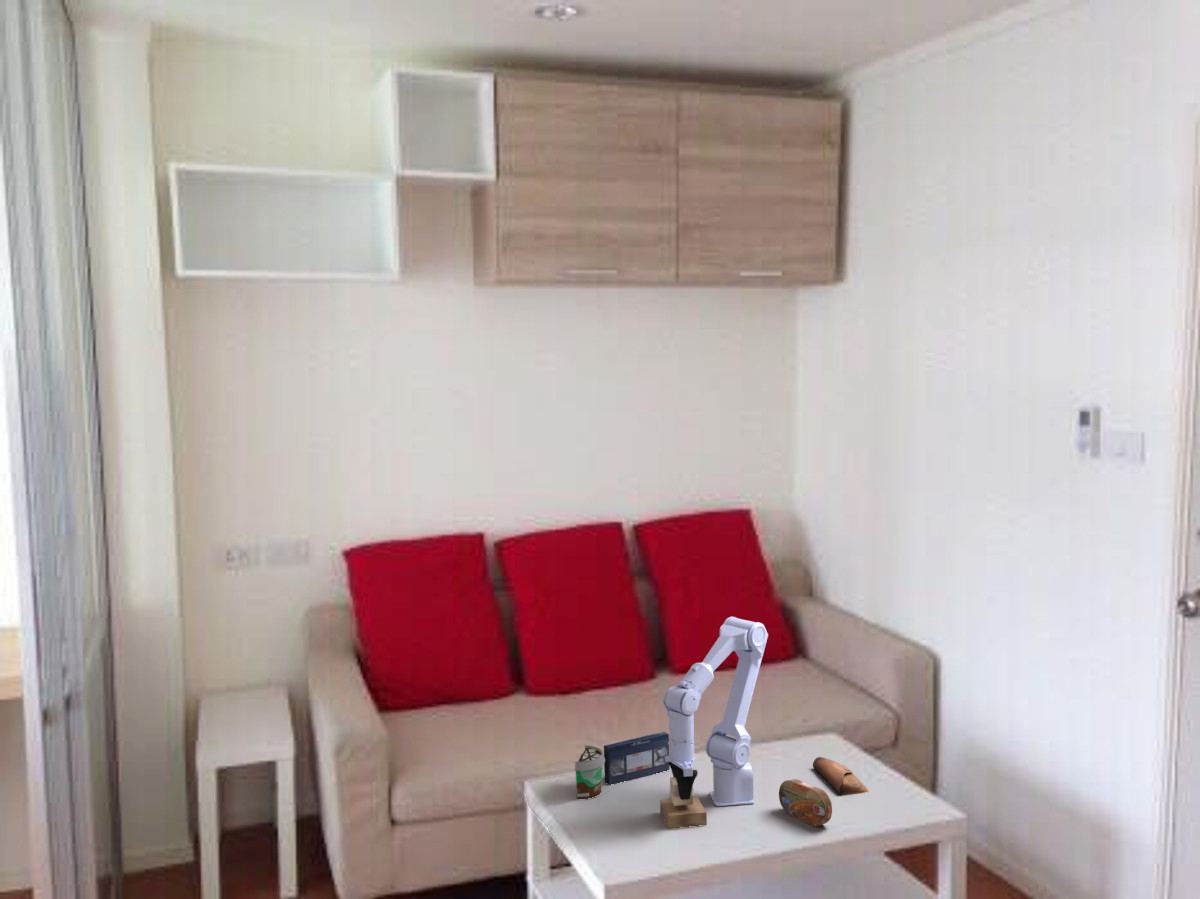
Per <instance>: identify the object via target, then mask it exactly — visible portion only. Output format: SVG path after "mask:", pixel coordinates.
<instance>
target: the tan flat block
mask: <svg viewBox="0 0 1200 899" xmlns="http://www.w3.org/2000/svg"><path fill="white" fill-rule="evenodd" d="M659 804H660V806H659V808H660V809H659V810H660V811H659V812H660V815H661V817H662V819H663V821H664V820H665V821H664V823H665V825H666V826H667V828H669V829H668V830H673V828H676V829H681V828H680V827H686V828H690V827H689V826H697V827H700V826H699V825H707V824H708V820H707V819H708V818H707V816H708V815H707V811H706V809H705V808H704V806H703V804H702V802H701V801H700V799H699V798H698V797H697V796H693V804H691V805H678V806H674V805H673V802H672V800H671V798H669V799H661V800H659Z"/></svg>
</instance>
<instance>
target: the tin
mask: <svg viewBox="0 0 1200 899" xmlns="http://www.w3.org/2000/svg"><path fill="white" fill-rule="evenodd" d="M825 791H826V790H823V789H821V788H820V787H817V786H815V785H812V784H809V783H807V782H804V781H802V780H799V779H797V778H796V779H795V778H794V779H793V778H792V779H787V780H785V781H783V782H782V783H781V784H780V786H779V790H778V798H779V803H780V805H781V808H782V809H783V811H784V813H786V814H787V816H790V817H793V818H794V819H797V820H798V821H801V822H803V823H806V824H808V825H810V826H813V827H820V826H822V825H825V824H827V823H829V821H830V820H831V818H832V815H833V806H832V801H831V798H830V796H829V795H828V794H827V792H825Z"/></svg>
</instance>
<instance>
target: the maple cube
mask: <svg viewBox="0 0 1200 899" xmlns="http://www.w3.org/2000/svg"><path fill="white" fill-rule="evenodd" d="M669 785H670V786H669V788H670V789H669V792H670V793H669V794H670V795H669V796H670V798H669V799H671V800H672V802H673V805H674V806H678V805H691V804H693V797H694V787H693V786H694V785H693V786H692V791H691V796H690V799H687V800H681V799H680V796H679V790H678V784H677V781H676V778H675V777H673V776H671V777H669Z"/></svg>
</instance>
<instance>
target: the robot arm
mask: <svg viewBox="0 0 1200 899" xmlns="http://www.w3.org/2000/svg"><path fill="white" fill-rule="evenodd" d="M768 638H769V633H768V632H767V629H766V627H765V624H763V623H761V622H758V621H757V622H755V621H751V620H746V619H741V618H738V617H736V616H730V617H727V618H726V619H725V620H724V622H723V623H722V625H721V626H720V628H719V637H718V638H717V640H716V641H715V642H714V644H713V645H712V647H711V648H710V649H709V651H708V653H707V654H706V655H705V657H704V658H703V661H702V662H695V663H694V664H692V665H691V667H690V669H689V670H688V671H687V672H686V674H685V675H684V676H683V677H682V678H681V679H680V681H679V682H678V683H677V684H676V685H673V686H671V687H669V688H668V689H667V690H666V692H665V694H664V699H662V703H663V706H664V708H665V709H666V715H667V718H668V726H669V729H668V730H669V731H668V734H669V756H665V761H666V762H668V764H669V767H670V768H669V769H670V770H671V774H672V777H675V778H676V781H677V784H678V790H679V796H680V799H681V800H687V799H690V796H691V791H692V786H694V783H695V780H696V778H697V777H698V773H699V772H698V770H697V769H693V768H694V765H695V762H696V755H695V725H694V724H695V722H694V720H695V719H694V717H695V716H694V715H695V714H694V713H695V712H697V710H698V708H699V706H700V705H699V704H700V701H701V699H702V694H703V693H704V692H705V691H706V690H707V689H708V687H709V686H710V685H711V684H712V682H713V681H714V679H715V676H714V671H716V669H718V667H719V666H720V665H721V664H722V663H723V662H725V660H726V659H727V658H728V657H729V656H730V654H731V653H732V652H735V654H736V655H737V657H738V661H737V665H736V669H735V672H734V673H735V674H734V676H733V677H734V678H733V680H732V684H731V688H730V692H729V696H728V699H727V703H726V708H725V711H724V713H723V714H724V716H723V719H722V720H721V721H720V722H719V723H717V724H715V725H713V727H712V729H711V733H710V735H709V736H708V738H707V740H706V742H705V752H706V754H707V757H709V758H710V762H711V763H712V770H713V771H712V776H713V777H712V782H713V786H712V787H713V788H712V789H713V790H711V791H709V792H708V794H709V796H710V798H711V800H712V802H713V803H714V805H715V806H716V807H722V806H723V807H725V806H726V807H727V806H738V805H751V804H755V800H754V774H753V768H752V767H753V766H752V765H751V762H749V761H748V760H749V759H750V755H751V750H750V749H751V748H750V746H751V740H752V737H751V736H750V734H749V733H748V732H747V729H746V728H745V725H746V722H747V718H748V714H749V711H750V710H749V709H750V706H751V703H752V699H753V694H754V690H755V687H756V683H757V680H758V676H759V671H760V667H761V664H762V659H763V656H764V652H765V648H766V644H767V640H768ZM729 735H730V736H729ZM731 736H732V737H731Z"/></svg>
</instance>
